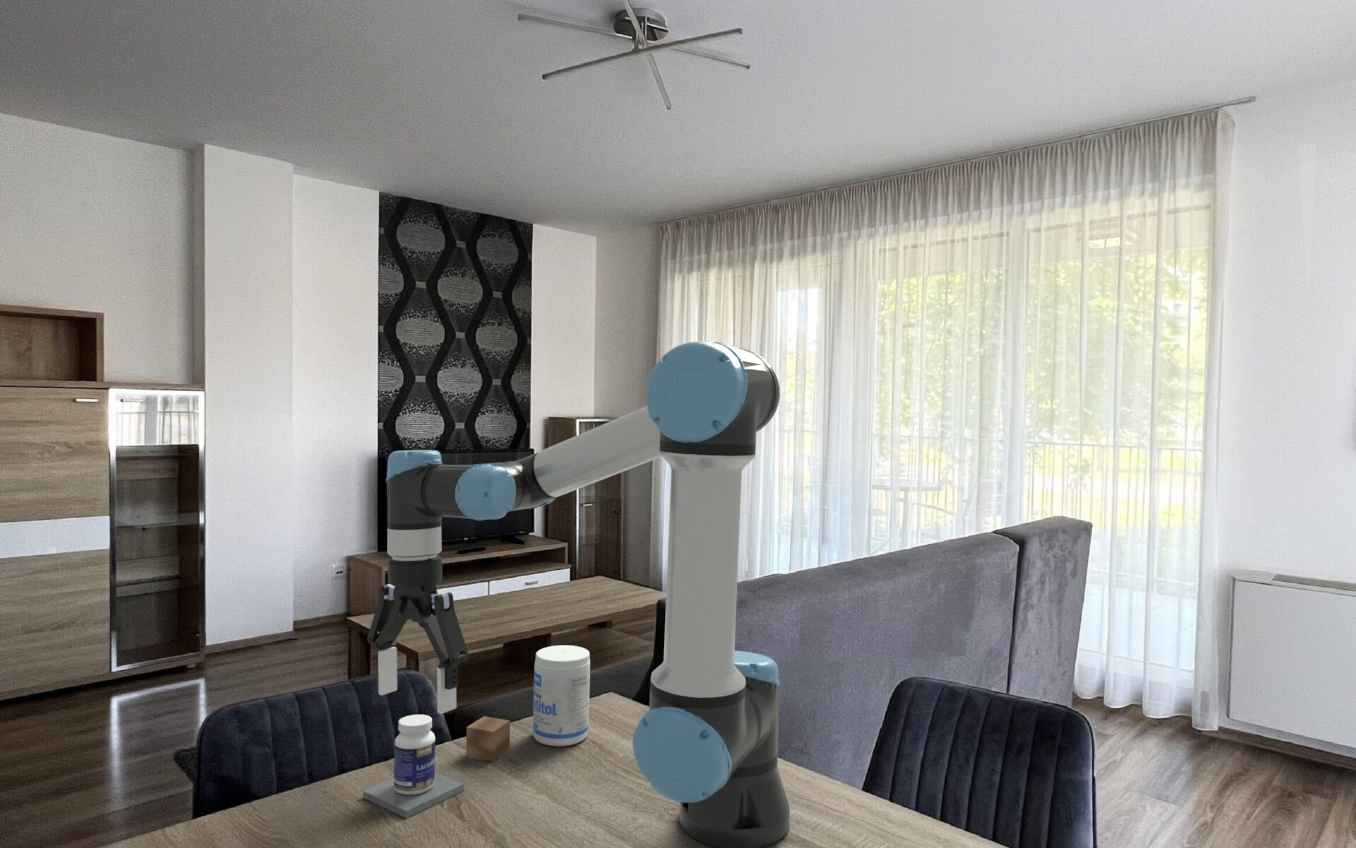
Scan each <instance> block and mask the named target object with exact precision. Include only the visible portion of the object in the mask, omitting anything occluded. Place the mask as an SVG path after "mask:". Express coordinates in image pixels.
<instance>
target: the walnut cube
mask: <svg viewBox="0 0 1356 848" xmlns="http://www.w3.org/2000/svg"><path fill="white" fill-rule="evenodd" d="M510 747H511V720H508V719H504V718H503V719H502V718H496V717H489V716H486V715H484V716H482V717H481V718H479V719H478V720H476V721H474V722H473V723H471V724H469V725H468V726H467V727H466V751H465V752H466V758H468V759H473V760H479V761H485V762H491V763H494V762H496V761H497V760H498V759H500V758H501V757H503V755H505V754H507V753H508V752H509V751H510V750H511V749H510Z"/></svg>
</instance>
